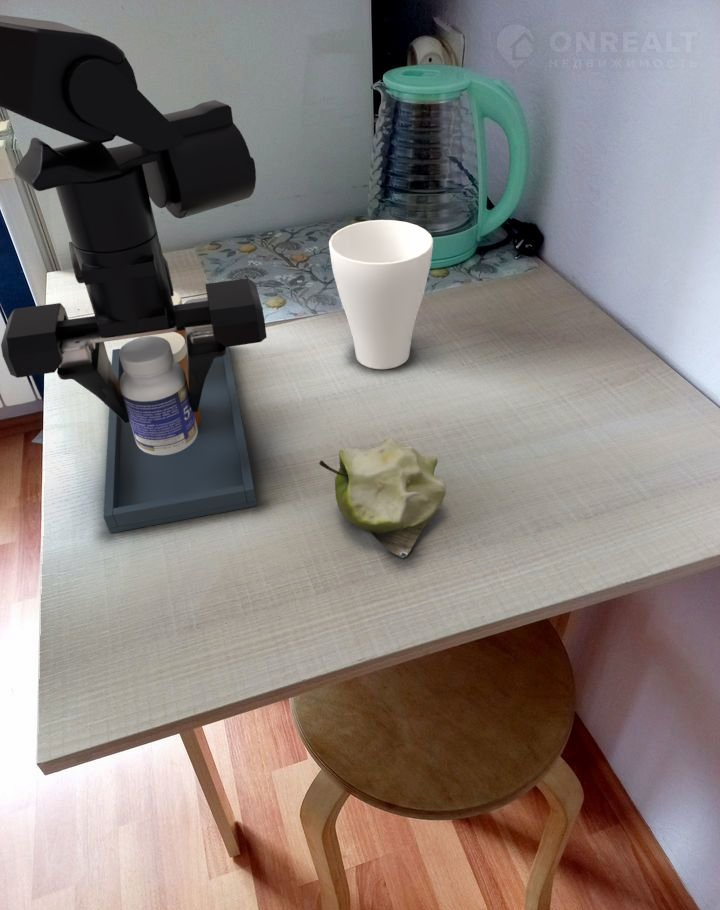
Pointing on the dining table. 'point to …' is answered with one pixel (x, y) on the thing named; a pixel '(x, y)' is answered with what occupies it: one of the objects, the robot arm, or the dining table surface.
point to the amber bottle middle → (179, 357)
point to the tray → (181, 463)
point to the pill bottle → (156, 397)
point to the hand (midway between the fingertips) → (162, 414)
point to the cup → (381, 286)
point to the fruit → (388, 492)
